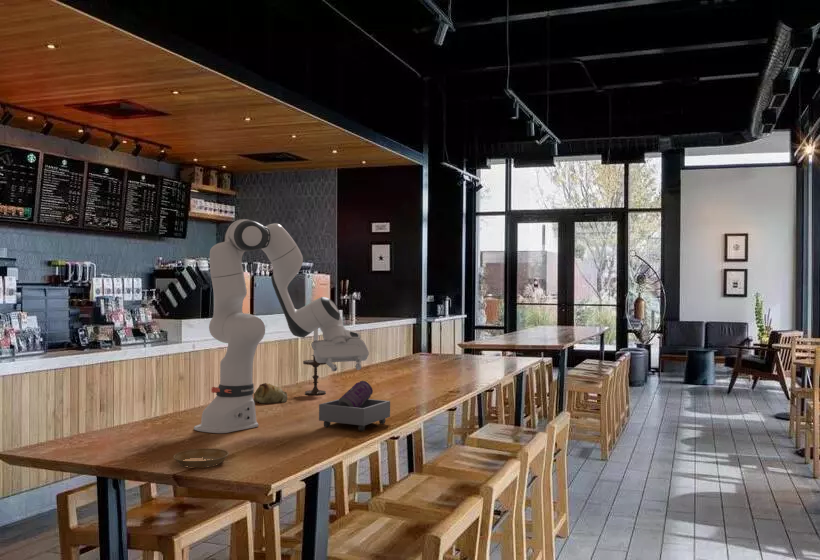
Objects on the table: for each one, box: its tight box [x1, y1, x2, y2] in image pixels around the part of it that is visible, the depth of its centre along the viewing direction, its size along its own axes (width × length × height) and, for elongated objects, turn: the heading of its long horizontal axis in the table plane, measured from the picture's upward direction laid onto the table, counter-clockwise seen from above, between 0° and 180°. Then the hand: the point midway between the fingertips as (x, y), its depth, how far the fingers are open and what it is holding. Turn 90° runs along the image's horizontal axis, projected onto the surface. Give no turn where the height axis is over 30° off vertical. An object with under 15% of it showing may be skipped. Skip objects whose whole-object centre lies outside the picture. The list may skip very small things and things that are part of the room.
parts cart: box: [318, 398, 391, 432], centre depth 260 cm, size 18×18×8 cm
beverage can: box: [338, 380, 374, 408], centre depth 263 cm, size 7×7×12 cm
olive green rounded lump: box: [253, 382, 289, 404], centre depth 309 cm, size 14×12×8 cm
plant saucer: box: [173, 447, 229, 468], centre depth 207 cm, size 15×15×3 cm
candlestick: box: [302, 328, 327, 396], centre depth 329 cm, size 11×11×35 cm
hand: (347, 369), depth 266 cm, fingers open, 8 cm apart
